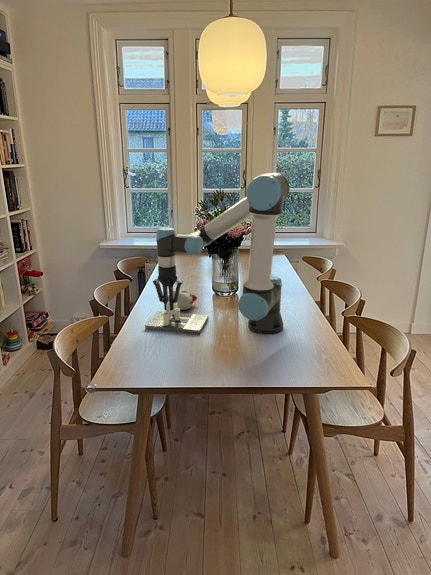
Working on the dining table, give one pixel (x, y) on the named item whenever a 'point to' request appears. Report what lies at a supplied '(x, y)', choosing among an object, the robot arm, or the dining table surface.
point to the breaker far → (174, 308)
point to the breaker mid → (177, 314)
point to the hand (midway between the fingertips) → (169, 316)
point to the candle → (184, 300)
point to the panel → (178, 323)
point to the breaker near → (166, 319)
